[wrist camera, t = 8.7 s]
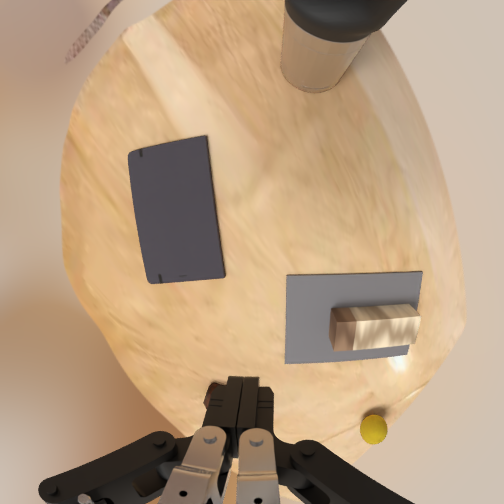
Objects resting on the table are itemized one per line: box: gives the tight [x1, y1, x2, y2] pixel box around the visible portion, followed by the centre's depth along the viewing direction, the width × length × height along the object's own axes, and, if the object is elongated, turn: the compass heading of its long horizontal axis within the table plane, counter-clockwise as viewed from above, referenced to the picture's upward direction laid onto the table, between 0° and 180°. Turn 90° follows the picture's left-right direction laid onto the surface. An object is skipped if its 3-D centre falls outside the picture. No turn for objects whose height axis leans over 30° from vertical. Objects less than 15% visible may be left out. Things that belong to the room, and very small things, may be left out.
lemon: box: [360, 415, 387, 444], centre depth 46 cm, size 6×6×8 cm
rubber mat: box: [285, 271, 423, 364], centre depth 45 cm, size 16×23×1 cm
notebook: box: [128, 136, 225, 284], centre depth 43 cm, size 13×2×21 cm
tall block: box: [328, 304, 421, 352], centre depth 42 cm, size 5×5×14 cm
